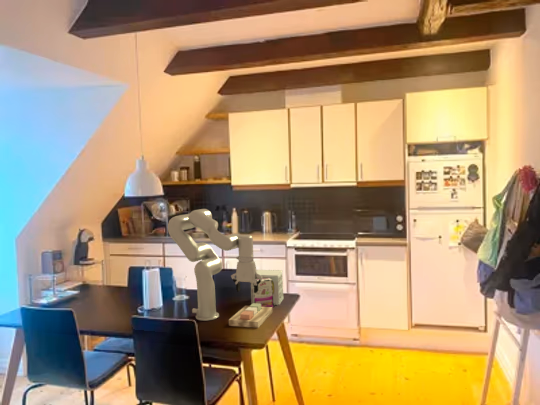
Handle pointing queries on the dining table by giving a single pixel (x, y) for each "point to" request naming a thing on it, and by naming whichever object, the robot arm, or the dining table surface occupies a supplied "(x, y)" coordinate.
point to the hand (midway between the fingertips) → (247, 291)
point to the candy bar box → (264, 293)
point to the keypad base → (256, 319)
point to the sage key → (256, 306)
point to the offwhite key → (252, 310)
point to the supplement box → (276, 284)
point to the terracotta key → (246, 315)
